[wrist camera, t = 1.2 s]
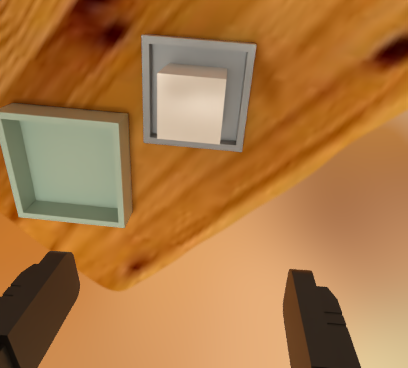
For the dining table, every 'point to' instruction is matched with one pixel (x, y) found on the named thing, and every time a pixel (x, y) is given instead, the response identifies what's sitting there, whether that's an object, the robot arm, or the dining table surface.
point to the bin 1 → (68, 163)
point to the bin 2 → (200, 56)
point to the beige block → (190, 103)
